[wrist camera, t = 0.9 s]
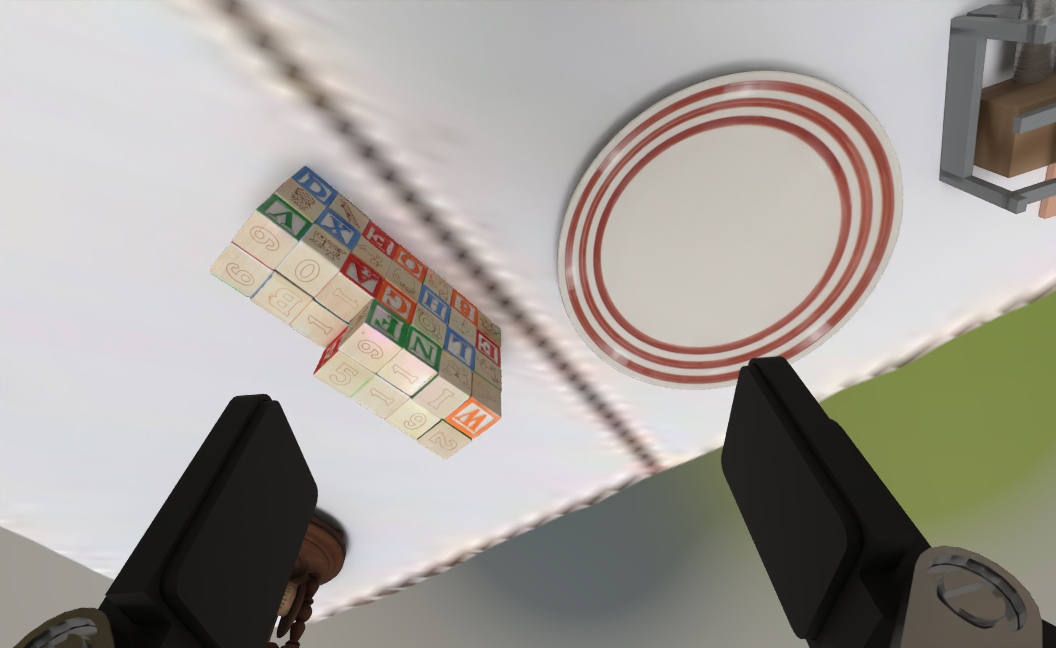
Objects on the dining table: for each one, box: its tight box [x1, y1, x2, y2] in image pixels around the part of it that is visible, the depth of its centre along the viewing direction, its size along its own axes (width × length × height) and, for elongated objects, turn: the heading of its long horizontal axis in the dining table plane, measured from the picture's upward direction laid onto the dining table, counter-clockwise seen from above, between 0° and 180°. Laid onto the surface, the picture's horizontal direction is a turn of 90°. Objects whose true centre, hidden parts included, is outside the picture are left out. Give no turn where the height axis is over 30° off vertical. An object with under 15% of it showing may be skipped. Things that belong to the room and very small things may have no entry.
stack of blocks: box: [209, 166, 502, 459], centre depth 40 cm, size 21×6×12 cm, turn 43°
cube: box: [973, 72, 1056, 178], centre depth 37 cm, size 5×5×5 cm
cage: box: [939, 5, 1056, 214], centre depth 35 cm, size 12×8×8 cm, turn 20°
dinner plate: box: [557, 71, 903, 390], centre depth 43 cm, size 28×27×3 cm
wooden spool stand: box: [265, 516, 346, 648], centre depth 55 cm, size 15×15×20 cm
